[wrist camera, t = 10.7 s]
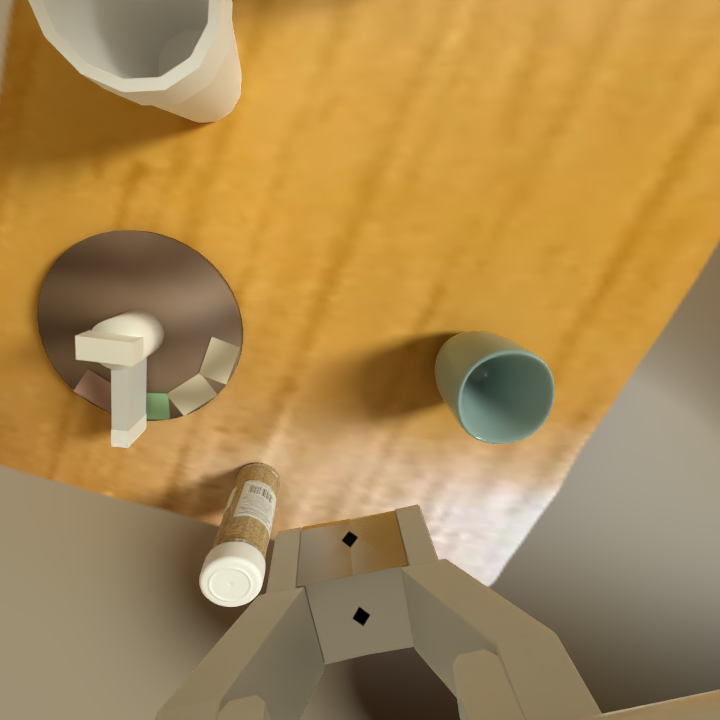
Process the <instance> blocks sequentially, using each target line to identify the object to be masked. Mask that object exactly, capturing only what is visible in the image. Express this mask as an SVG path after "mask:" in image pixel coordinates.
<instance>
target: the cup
mask: <svg viewBox="0 0 720 720" xmlns="http://www.w3.org/2000/svg"><path fill="white" fill-rule="evenodd" d="M435 380H436V384H437V387H438V390H439V393H440V395H441V397H442V399H443V400H444V402H445V404H446V406H447V407H448V409H449V410H450V412H451V413H452V415H453V416H454V418H455V419H456V421H457V422H458V423H459V424H460V426H461V427H462V428H463V429H464V430H465V431H466V432H467V433H468V434H469V435H471V436H472V437H474V438H475V439H477V440H480V441H482V442H486V443H492V444H505V443H512V442H516V441H519V440H522V439H524V438H526V437H528V436H530V435H532V434H533V433H534V432H536V431H537V430H538V429H539V428H540V427H541V426H542V425H543V424H544V422H545V421H546V419H547V417H548V416H549V414H550V411H551V408H552V406H553V400H554V389H555V386H554V380H553V376H552V373H551V371H550V369H549V367H548V366H547V365H546V363H545V362H544V361H543V360H542V359H541V358H540V357H539V356H537V355H536V354H535V353H533V352H532V351H530V350H528V349H527V348H525V347H523V346H521V345H520V344H518V343H516V342H514V341H512V340H510V339H508V338H505V337H503V336H501V335H498V334H495V333H491V332H486V331H466V332H462V333H459V334H456V335H455V336H453V337H451V338H449V339H448V340H447V341H446V342H445V343H444V344H443V345H442V346H441V348H440V350H439V352H438V354H437V358H436V361H435Z"/></svg>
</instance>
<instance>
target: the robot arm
mask: <svg viewBox="0 0 720 720" xmlns="http://www.w3.org/2000/svg"><path fill="white" fill-rule="evenodd" d="M408 647H414V648H415V650H416V651H417V652H418V653H419V655H420V656H421V657H422V658H423V659H424V660H425V661H426V663H427V664H428V665H429V666H430V667H431V668H432V670H433V671H434V672H435V673H436V674H437V675H438V676H439V678H440V679H441V680H442V681H443V682H444V683H445V684H446V686H447V687H448V688H449V689H450V690H451V692H452V693H453V694H454V695H455V696H456V697H457V699H458V707H459V714H460V720H720V690H716V691H711V692H706V693H701V694H696V695H691V696H687V697H682V698H677V699H672V700H667V701H663V702H658V703H653V704H648V705H643V706H638V707H633V708H629V709H624V710H619V711H614V712H609V713H604V714H602V713H601V711H600V709H599V708H598V706H597V704H596V703H595V701H594V699H593V697H592V696H591V694H590V692H589V690H588V689H587V687H586V685H585V683H584V682H583V680H582V678H581V676H580V675H579V673H578V671H577V669H576V668H575V666H574V664H573V663H572V661H571V659H570V657H569V656H568V654H567V652H566V650H565V649H564V647H563V645H562V643H561V642H560V640H559V638H558V636H557V635H556V633H555V632H553V631H552V630H550V629H549V628H547V627H546V626H544V625H543V624H541V623H540V622H538V621H537V620H535V619H534V618H532V617H531V616H529V615H528V614H526V613H525V612H524V611H522V610H521V609H519V608H518V607H516V606H515V605H513V604H512V603H510V602H509V601H507V600H506V599H504V598H503V597H501V596H500V595H498V594H497V593H495V592H494V591H493V590H491V589H490V588H488V587H487V586H485V585H484V584H482V583H481V582H479V581H478V580H476V579H475V578H473V577H472V576H470V575H469V574H467V573H466V572H464V571H463V570H462V569H460V568H459V567H457V566H456V565H454V564H453V563H451V562H450V561H448V560H447V559H442V560H438V557H437V554H436V552H435V549H434V546H433V543H432V540H431V537H430V534H429V531H428V528H427V526H426V523H425V520H424V517H423V514H422V511H421V508H420V506H418V505H413V506H409V507H404V508H400V509H395V511H390V512H385V513H380V514H375V515H370V516H364V517H359V518H354V519H347V520H341V521H335V522H329V523H323V524H317V525H311V526H305V527H303V528H301V527H300V528H295V529H289V530H284V531H279V532H278V534H277V536H276V539H275V545H274V550H273V556H272V562H271V568H270V574H269V579H268V586H267V591H266V594H263V595H259V596H258V597H257V598H256V599H255V600H254V601H253V603H252V604H251V605H250V606H249V607H248V608H247V609H246V611H245V612H244V613H243V614H242V615H241V616H240V618H239V619H238V620H237V621H236V622H235V623H234V624H233V626H232V627H231V628H230V629H229V630H228V631H227V633H226V634H225V635H224V636H223V637H222V638H221V639H220V641H219V642H218V643H217V644H216V645H215V646H214V648H213V649H212V650H211V651H210V652H209V653H208V654H207V656H206V657H205V658H204V659H203V660H202V661H201V663H200V664H199V665H198V666H197V667H196V668H195V669H194V671H193V672H192V673H191V674H190V675H189V676H188V678H187V679H186V680H185V681H184V682H183V683H182V685H181V686H180V687H179V688H178V689H177V690H176V691H175V692H174V694H173V695H172V696H171V697H170V698H169V699H168V701H167V702H166V703H165V704H164V705H163V707H162V708H161V709H160V710H159V711H158V712H157V715H156V718H155V720H300V718H301V716H302V714H303V712H304V710H305V708H306V706H307V704H308V702H309V700H310V698H311V696H312V694H313V691H314V689H315V687H316V685H317V683H318V681H319V679H320V677H321V675H322V673H323V671H324V668H325V666H324V665H325V664H329V663H333V662H337V661H342V660H346V659H350V658H354V657H359V656H363V655H367V654H373V653H379V652H385V651H390V650H397V649H402V648H408Z"/></svg>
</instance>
